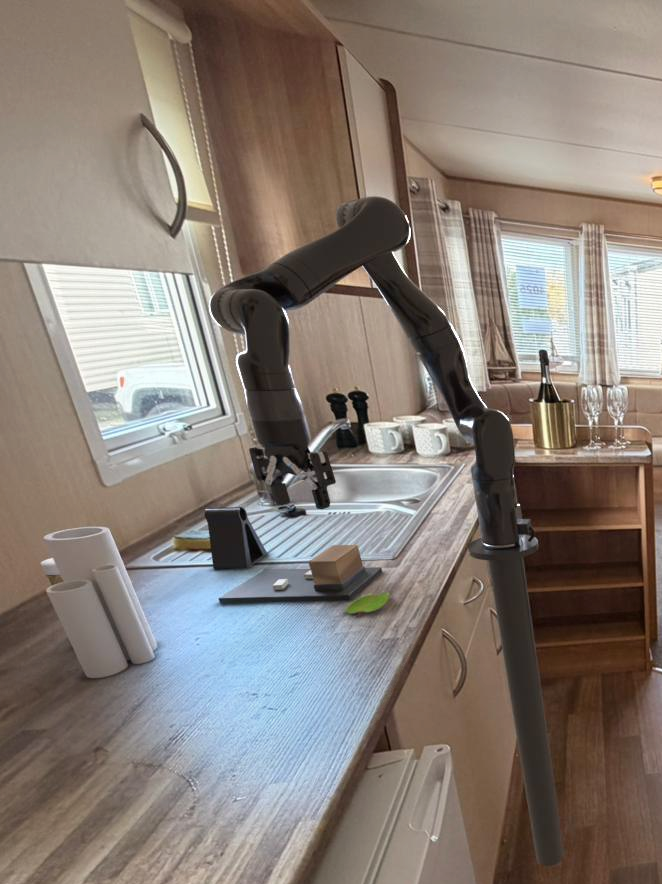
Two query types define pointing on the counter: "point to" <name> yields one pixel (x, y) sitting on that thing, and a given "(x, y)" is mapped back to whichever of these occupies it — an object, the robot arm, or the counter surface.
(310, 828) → the counter surface
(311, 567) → the eraser
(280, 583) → the small white block
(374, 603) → the decorative leaf
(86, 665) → the vase
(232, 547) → the phone stand
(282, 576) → the memo board
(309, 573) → the small white block
